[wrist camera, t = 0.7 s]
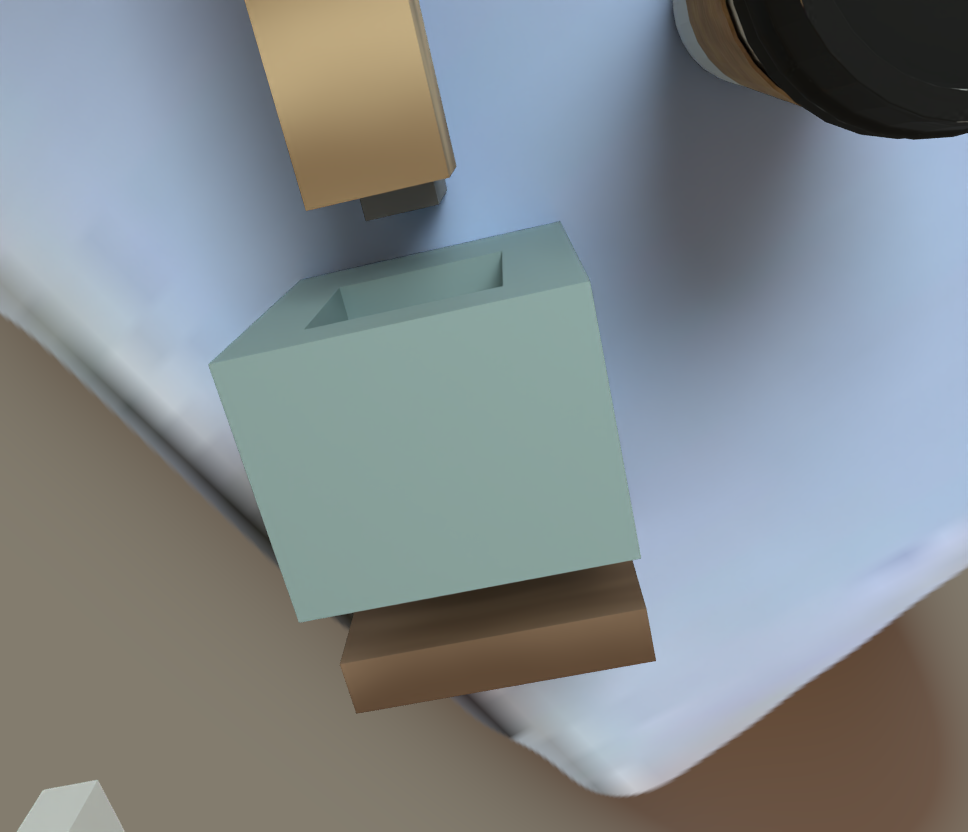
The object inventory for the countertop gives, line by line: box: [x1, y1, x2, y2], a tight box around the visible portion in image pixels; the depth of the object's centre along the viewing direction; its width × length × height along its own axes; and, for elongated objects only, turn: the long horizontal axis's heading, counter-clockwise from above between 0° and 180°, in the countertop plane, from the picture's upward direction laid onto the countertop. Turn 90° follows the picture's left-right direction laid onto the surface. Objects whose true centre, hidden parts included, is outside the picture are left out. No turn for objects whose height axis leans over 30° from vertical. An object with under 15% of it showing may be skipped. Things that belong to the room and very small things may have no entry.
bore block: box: [208, 221, 641, 622], centre depth 28 cm, size 8×10×11 cm
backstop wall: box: [340, 560, 656, 713], centre depth 32 cm, size 2×10×9 cm, turn 102°
